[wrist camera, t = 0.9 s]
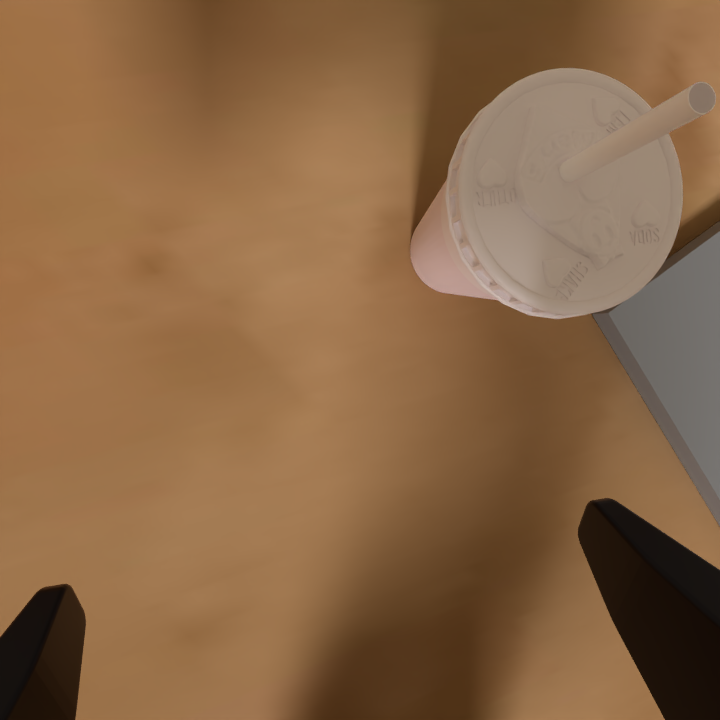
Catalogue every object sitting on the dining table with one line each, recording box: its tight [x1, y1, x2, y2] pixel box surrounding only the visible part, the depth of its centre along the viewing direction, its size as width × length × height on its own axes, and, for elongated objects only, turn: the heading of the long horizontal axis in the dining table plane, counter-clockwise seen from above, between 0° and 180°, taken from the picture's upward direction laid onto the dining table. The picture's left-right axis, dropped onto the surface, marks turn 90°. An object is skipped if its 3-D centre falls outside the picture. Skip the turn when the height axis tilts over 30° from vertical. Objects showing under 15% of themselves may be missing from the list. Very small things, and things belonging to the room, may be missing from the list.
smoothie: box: [410, 68, 716, 319], centre depth 16 cm, size 6×6×14 cm
